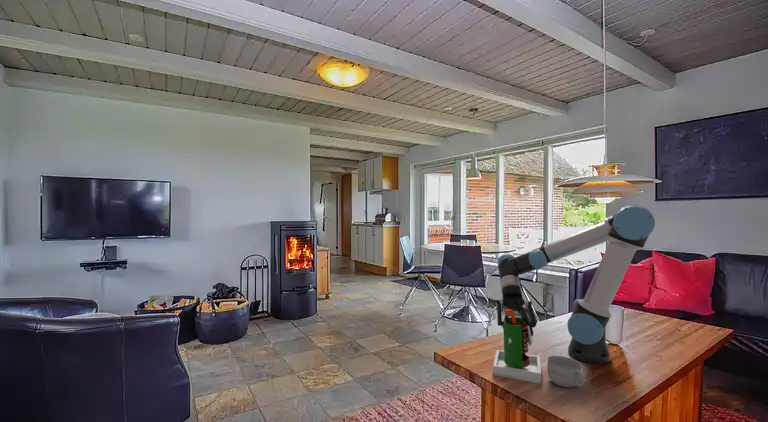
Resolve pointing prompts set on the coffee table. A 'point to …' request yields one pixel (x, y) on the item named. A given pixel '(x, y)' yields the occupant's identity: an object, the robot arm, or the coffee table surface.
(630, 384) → the coffee table surface
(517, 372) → the tray
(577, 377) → the teacup
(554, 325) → the coffee table surface
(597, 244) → the robot arm
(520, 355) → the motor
